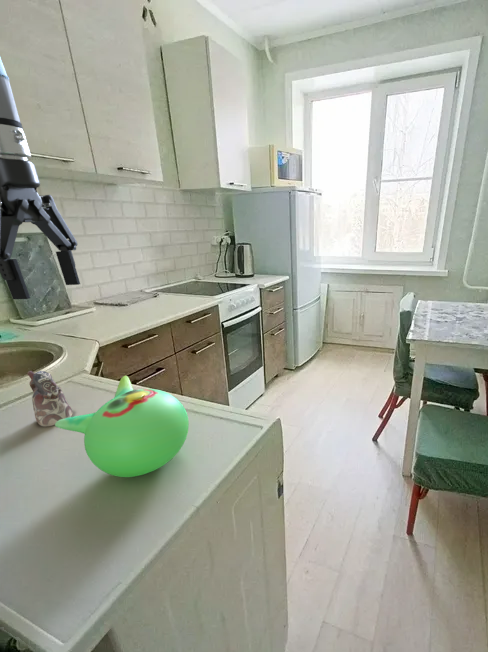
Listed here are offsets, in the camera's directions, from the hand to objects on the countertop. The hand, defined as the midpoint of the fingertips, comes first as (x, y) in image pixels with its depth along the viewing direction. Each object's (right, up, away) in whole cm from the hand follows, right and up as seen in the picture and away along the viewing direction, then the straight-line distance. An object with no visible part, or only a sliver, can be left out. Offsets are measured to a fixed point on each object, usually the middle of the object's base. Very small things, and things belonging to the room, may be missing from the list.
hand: (49, 291), depth 67 cm
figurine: (-9, -26, +16) cm, 32 cm away
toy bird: (+19, -32, -1) cm, 37 cm away
